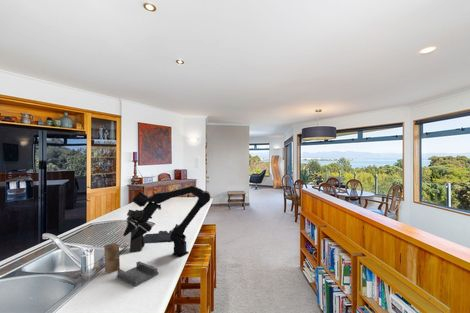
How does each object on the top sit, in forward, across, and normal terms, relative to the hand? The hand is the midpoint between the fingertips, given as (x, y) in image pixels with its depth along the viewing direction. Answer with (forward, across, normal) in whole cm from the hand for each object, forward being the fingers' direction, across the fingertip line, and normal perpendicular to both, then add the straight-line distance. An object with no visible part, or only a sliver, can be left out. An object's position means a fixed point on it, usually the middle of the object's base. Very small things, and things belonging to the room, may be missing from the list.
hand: (127, 237), depth 119 cm
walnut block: (+15, 0, +4) cm, 16 cm away
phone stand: (+1, -17, +18) cm, 25 cm away
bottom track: (+11, +15, +8) cm, 20 cm away
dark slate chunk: (-11, -22, +31) cm, 39 cm away
